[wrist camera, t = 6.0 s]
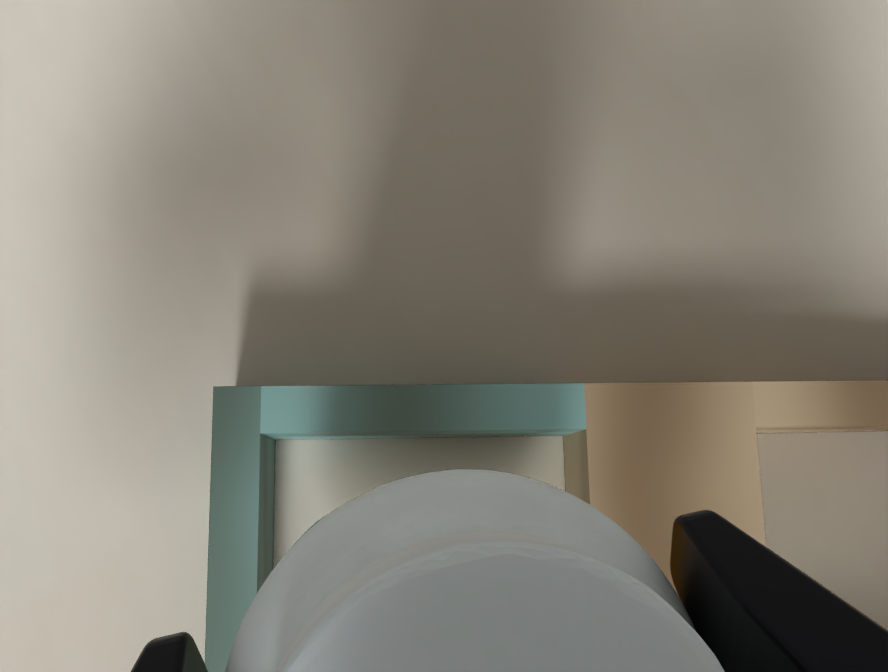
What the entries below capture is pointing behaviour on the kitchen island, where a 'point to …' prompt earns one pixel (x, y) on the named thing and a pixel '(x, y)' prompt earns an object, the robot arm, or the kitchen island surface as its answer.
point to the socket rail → (521, 414)
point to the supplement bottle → (467, 587)
